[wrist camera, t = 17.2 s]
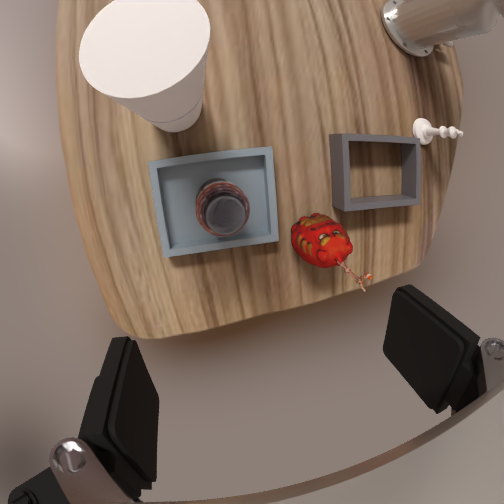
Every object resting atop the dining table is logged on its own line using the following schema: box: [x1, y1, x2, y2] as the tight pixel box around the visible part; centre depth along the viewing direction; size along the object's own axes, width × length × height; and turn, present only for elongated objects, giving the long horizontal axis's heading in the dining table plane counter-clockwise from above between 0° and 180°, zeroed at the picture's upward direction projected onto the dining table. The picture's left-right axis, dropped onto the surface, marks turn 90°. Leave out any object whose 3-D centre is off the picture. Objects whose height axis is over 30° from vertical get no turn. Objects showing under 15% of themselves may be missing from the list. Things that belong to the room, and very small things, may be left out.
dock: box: [329, 134, 421, 212], centre depth 40 cm, size 15×11×4 cm
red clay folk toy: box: [291, 213, 372, 292], centre depth 37 cm, size 8×7×15 cm
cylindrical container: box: [79, 0, 210, 132], centre depth 22 cm, size 7×7×25 cm
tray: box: [148, 147, 279, 258], centre depth 38 cm, size 16×13×2 cm
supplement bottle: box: [196, 178, 250, 237], centre depth 33 cm, size 6×6×11 cm
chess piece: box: [413, 118, 463, 145], centre depth 36 cm, size 5×5×10 cm
